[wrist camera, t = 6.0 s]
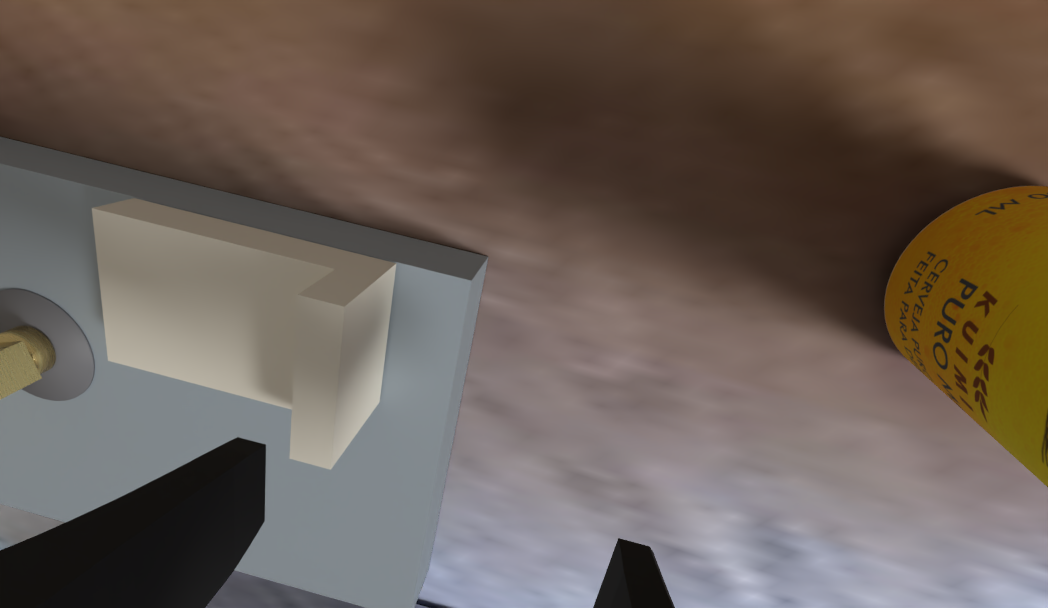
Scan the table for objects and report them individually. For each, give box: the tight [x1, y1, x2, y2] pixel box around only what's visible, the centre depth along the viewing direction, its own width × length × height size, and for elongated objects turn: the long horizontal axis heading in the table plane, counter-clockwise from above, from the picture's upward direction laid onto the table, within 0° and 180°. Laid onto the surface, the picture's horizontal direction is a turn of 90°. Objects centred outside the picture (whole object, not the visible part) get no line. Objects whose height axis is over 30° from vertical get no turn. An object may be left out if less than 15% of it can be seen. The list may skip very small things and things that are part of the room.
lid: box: [92, 198, 396, 470], centre depth 16 cm, size 5×8×4 cm, turn 78°
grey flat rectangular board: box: [0, 137, 488, 608], centre depth 21 cm, size 15×19×3 cm
